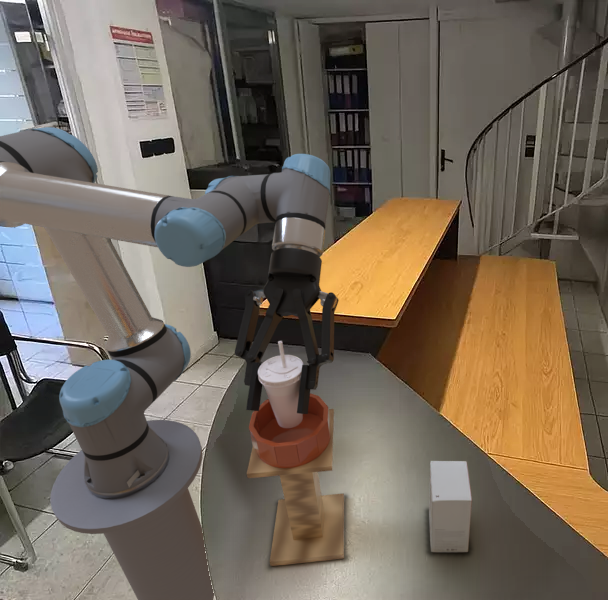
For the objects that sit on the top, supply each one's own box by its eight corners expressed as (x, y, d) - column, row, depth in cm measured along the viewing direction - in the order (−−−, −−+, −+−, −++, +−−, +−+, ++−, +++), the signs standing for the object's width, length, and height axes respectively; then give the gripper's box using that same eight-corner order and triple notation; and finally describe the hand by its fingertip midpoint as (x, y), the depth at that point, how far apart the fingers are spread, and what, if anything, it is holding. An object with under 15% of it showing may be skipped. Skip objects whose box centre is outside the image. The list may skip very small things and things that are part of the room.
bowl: (248, 471, 69) (243, 449, 66) (261, 415, 78) (256, 394, 76) (329, 464, 69) (326, 441, 67) (331, 409, 79) (329, 388, 77)
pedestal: (270, 566, 79) (246, 473, 68) (279, 503, 90) (259, 414, 79) (344, 558, 80) (331, 466, 69) (344, 497, 90) (333, 408, 80)
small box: (468, 553, 80) (472, 501, 74) (430, 553, 81) (431, 501, 74) (463, 510, 87) (467, 459, 81) (428, 510, 88) (429, 460, 81)
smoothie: (308, 434, 69) (295, 355, 62) (263, 435, 69) (245, 356, 62) (314, 404, 75) (303, 328, 68) (273, 405, 75) (258, 329, 68)
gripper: (364, 264, 75) (351, 417, 69) (245, 261, 77) (222, 409, 71) (355, 247, 68) (340, 415, 62) (224, 243, 70) (197, 406, 64)
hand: (277, 411), depth 67 cm, fingers closed on smoothie, 6 cm apart
